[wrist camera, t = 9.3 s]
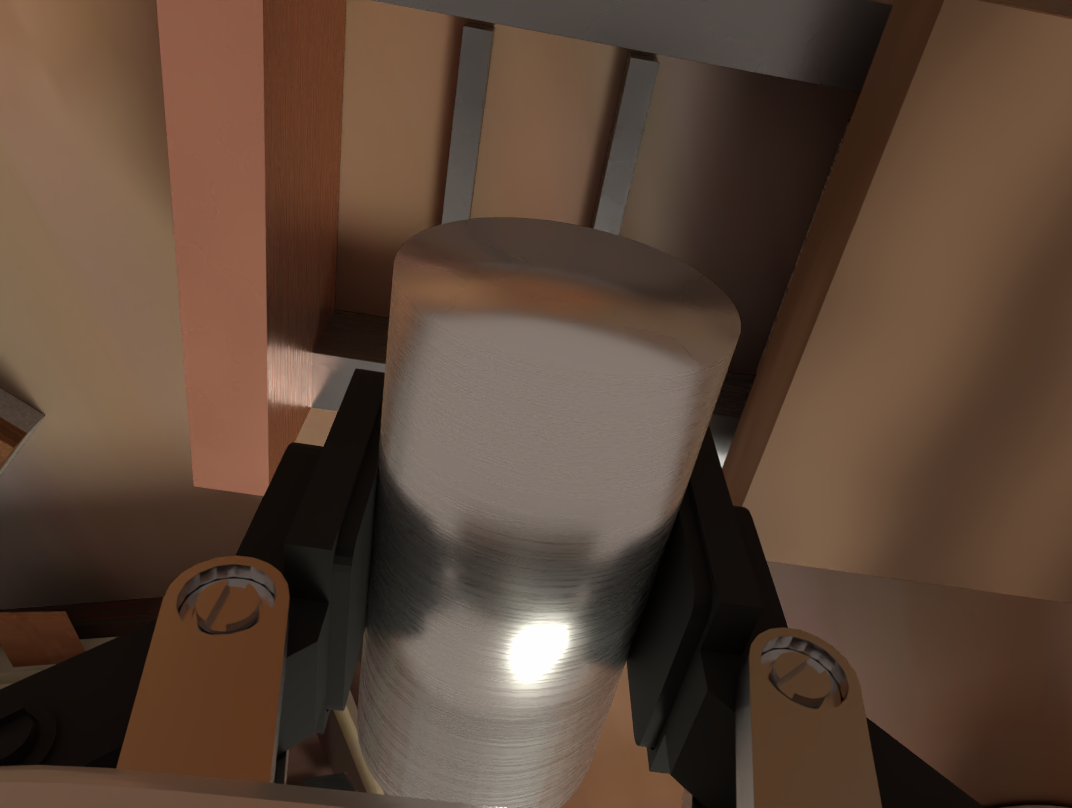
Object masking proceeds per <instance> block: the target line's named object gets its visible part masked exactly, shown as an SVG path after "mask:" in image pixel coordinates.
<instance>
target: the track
mask: <svg viewBox="0 0 1072 808" xmlns="http://www.w3.org/2000/svg"><path fill="white" fill-rule="evenodd" d="M373 1H379V2H384V3H389V4H395V5H400V6H405V7H411V8H416V9H421V10H427V11H432V12H437V13H442V14H448V15H453V16H458V17H464V18H469V19H474V20H480V21H485V22H490V23H496V24H501V25H506V26H512V27H517V28H522V29H527V30H533V31H538V32H543V33H549V34H554V35H559V36H565V37H570V38H575V39H581V40H586V41H591V42H596V43H602V44H607V45H612V46H618V47H623V48H628V49H634V50H639V51H644V52H650V53H655V54H660V55H665V56H671V57H676V58H681V59H687V60H692V61H697V62H703V63H708V64H713V65H719V66H724V67H729V68H735V69H740V70H745V71H750V72H756V73H761V74H766V75H772V76H777V77H782V78H788V79H793V80H798V81H804V82H809V83H814V84H819V85H825V86H830V87H835V88H841V89H846V90H851V91H857V92H861V91H862V88H863V85H864V83H865V80H866V77H867V74H868V72H869V69H870V66H871V64H872V61H873V58H874V55H875V53H876V50H877V47H878V45H879V42H880V39H881V37H882V34H883V31H884V28H885V26H886V23H887V20H888V18H889V15H890V12H891V9H892V7H893V4H894V0H373ZM156 2H157V15H158V28H159V41H160V54H161V67H162V80H163V93H164V106H165V119H166V132H167V145H168V158H169V171H170V184H171V197H172V210H173V223H174V236H175V249H176V262H177V275H178V288H179V301H180V314H181V327H182V340H183V353H184V366H185V379H186V392H187V405H188V418H189V431H190V444H191V457H192V470H193V483H194V486H195V487H202V488H209V489H216V490H224V491H231V492H238V493H245V494H252V495H259V496H264V495H265V492H266V490H267V488H268V486H269V484H270V482H271V480H272V478H273V475H274V473H275V471H276V469H277V467H278V465H279V463H280V461H281V459H282V456H283V454H284V452H285V450H286V448H287V447H288V445H289V444H290V443H292V442H295V440H296V438H297V436H298V434H299V432H300V430H301V427H302V425H303V423H304V421H305V419H306V417H307V415H308V412H309V410H310V408H311V407H314V408H320V409H327V410H334V411H338V410H339V408H340V405H341V403H342V400H343V398H344V395H345V393H346V390H347V388H348V385H349V383H350V380H351V378H352V376H353V373H354V371H355V369H357V368H358V369H365V370H371V371H378V372H384V373H385V366H386V354H387V341H388V329H389V318H384V317H377V316H371V315H365V314H358V313H352V312H346V311H339V310H335V288H336V261H337V235H338V209H339V182H340V156H341V130H342V103H343V77H344V51H345V24H346V0H156ZM494 30H495V27H489V26H484V25H479V24H473V23H468V22H466V23H465V25H464V26H463V35H462V44H461V53H460V62H459V71H458V80H457V90H456V99H455V108H454V117H453V126H452V135H451V144H450V153H449V162H448V171H447V180H446V189H445V198H444V207H443V216H442V224H445V223H449V222H454V221H459V220H466V219H470V215H471V207H472V199H473V191H474V184H475V176H476V168H477V161H478V153H479V145H480V138H481V130H482V122H483V114H484V107H485V99H486V91H487V84H488V76H489V68H490V61H491V53H492V45H493V37H494ZM658 67H659V61H658V60H657V58H654V57H649V56H644V55H638V54H633V53H628V58H627V62H626V67H625V72H624V76H623V81H622V85H621V90H620V95H619V99H618V104H617V109H616V113H615V118H614V123H613V127H612V132H611V137H610V141H609V146H608V150H607V155H606V160H605V164H604V169H603V174H602V178H601V183H600V188H599V192H598V197H597V202H596V206H595V211H594V215H593V220H592V225H591V228H593V229H597V230H601V231H605V232H609V233H612V234H615V235H619V232H620V228H621V224H622V220H623V215H624V211H625V207H626V203H627V199H628V194H629V190H630V186H631V182H632V177H633V173H634V169H635V165H636V160H637V156H638V152H639V148H640V143H641V139H642V135H643V131H644V127H645V122H646V118H647V114H648V110H649V105H650V101H651V97H652V93H653V88H654V84H655V80H656V76H657V72H658ZM850 120H851V119H849V120H848V123H847V125H846V128H845V131H844V133H843V136H842V139H841V142H840V144H839V147H838V150H837V152H836V155H835V158H834V161H833V163H832V166H831V169H830V171H829V174H828V177H827V180H826V182H825V185H824V188H823V191H822V193H821V196H820V199H819V201H818V204H817V207H816V210H815V212H814V215H813V218H812V220H811V223H810V226H809V229H808V231H807V234H806V237H805V239H804V242H803V245H802V248H801V250H800V253H799V256H798V258H797V261H796V264H795V267H794V269H793V272H792V275H791V277H790V280H789V283H788V286H787V288H786V291H785V294H784V296H783V299H782V302H781V305H780V307H779V310H778V313H777V315H776V318H775V321H774V324H773V326H772V329H771V332H770V334H769V337H768V340H767V343H766V345H765V348H764V351H763V353H762V356H761V359H760V362H759V364H758V367H757V372H758V369H759V367H760V364H761V361H762V358H763V356H764V353H765V350H766V348H767V345H768V342H769V340H770V337H771V334H772V331H773V329H774V326H775V323H776V321H777V318H778V315H779V312H780V310H781V307H782V304H783V302H784V299H785V296H786V294H787V291H788V288H789V285H790V283H791V280H792V277H793V275H794V272H795V269H796V267H797V264H798V261H799V258H800V256H801V253H802V250H803V248H804V245H805V242H806V239H807V237H808V234H809V231H810V229H811V226H812V223H813V221H814V218H815V215H816V212H817V210H818V207H819V204H820V202H821V199H822V196H823V193H824V191H825V188H826V185H827V183H828V180H829V177H830V175H831V172H832V169H833V166H834V164H835V161H836V158H837V156H838V153H839V150H840V147H841V145H842V142H843V139H844V137H845V134H846V131H847V129H848V126H849V123H850ZM755 377H756V376H750V375H744V374H738V373H731V372H727V373H726V376H725V379H724V382H723V385H722V387H721V390H720V393H719V396H718V399H717V402H716V405H715V408H714V410H713V413H712V416H711V419H710V422H709V426H710V430H711V433H712V437H713V440H714V443H715V447H716V450H717V453H718V457H719V460H720V463H721V467H723V464H724V461H725V459H726V456H727V453H728V450H729V448H730V445H731V442H732V440H733V437H734V434H735V432H736V429H737V426H738V423H739V421H740V418H741V415H742V413H743V410H744V407H745V404H746V402H747V399H748V396H749V394H750V391H751V388H752V386H753V383H754V380H755Z"/></svg>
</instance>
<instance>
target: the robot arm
mask: <svg viewBox="0 0 1072 808" xmlns="http://www.w3.org/2000/svg"><path fill="white" fill-rule="evenodd" d="M384 378H385V373H384V372H378V371H371V370H365V369H358V368H357V369H355V371H354V373H353V376H352V378H351V380H350V383H349V385H348V388H347V390H346V393H345V395H344V398H343V400H342V403H341V405H340V408H339V410H338V412H337V415H336V417H335V420H334V422H333V425H332V427H331V430H330V432H329V435H328V437H327V440H326V442H325V444H324V447H322V446H315V445H308V444H301V443H294V442H292V443H290V444H289V445H288V447H287V448H286V450H285V452H284V454H283V456H282V459H281V461H280V463H279V465H278V467H277V469H276V471H275V473H274V475H273V478H272V480H271V482H270V484H269V486H268V488H267V490H266V492H265V495H264V497H263V499H262V501H261V503H260V505H259V507H258V509H257V511H256V514H255V516H254V518H253V520H252V522H251V524H250V526H249V528H248V531H247V533H246V535H245V537H244V539H243V541H242V543H241V545H240V548H239V550H238V552H237V554H236V556H226V557H216V558H213V559H210V560H207V561H204V562H201V563H198V564H196V565H194V566H193V567H191V568H189V569H187V570H186V571H184V572H182V573H181V574H180V575H179V576H178V577H177V578H176V579H175V580H174V581H173V582H172V583H171V584H170V586H169V588H168V590H167V592H166V594H165V596H164V598H163V600H162V604H161V608H160V611H159V615H158V619H157V620H155V621H153V622H150V623H148V624H146V625H144V626H141V627H139V628H137V629H135V630H132V631H130V632H128V633H126V634H123V635H121V636H119V637H117V638H114V639H112V640H110V641H108V642H105V643H103V644H101V645H99V646H96V647H94V648H92V649H90V650H87V651H85V652H83V653H81V654H78V655H76V656H74V657H72V658H69V659H67V660H65V661H63V662H60V663H58V664H56V665H54V666H51V667H49V668H47V669H45V670H42V671H40V672H38V673H36V674H33V675H31V676H29V677H27V678H24V679H22V680H20V681H18V682H15V683H13V684H11V685H9V686H6V687H4V688H2V689H0V808H503V807H493V806H484V805H475V804H466V803H457V802H448V801H439V800H429V799H420V798H410V797H401V796H391V795H382V794H372V793H363V792H353V791H344V790H334V789H324V788H315V787H305V786H296V785H286V780H287V768H288V757H289V749H290V748H292V747H293V746H295V745H297V744H298V743H300V742H302V741H303V740H305V739H306V738H308V737H310V736H311V735H313V734H314V733H322V734H324V731H325V727H326V723H327V720H328V716H329V712H330V710H338V711H344V709H345V706H346V703H347V699H348V695H349V691H350V687H351V683H352V679H353V675H354V671H355V667H356V663H357V659H358V655H359V651H360V647H361V643H362V639H363V635H364V631H365V627H366V615H367V603H368V590H369V578H370V566H371V553H372V541H373V529H374V516H375V504H376V492H377V479H378V467H379V464H378V456H379V440H380V427H381V415H382V403H383V390H384ZM627 669H628V679H629V689H630V699H631V709H632V719H633V729H634V738H635V742H636V744H637V745H638V746H644V747H647V753H648V762H649V771H651V772H660V773H669V774H670V775H671V776H672V777H673V778H674V779H676V780H677V781H678V782H679V783H680V784H681V785H682V786H683V787H684V788H685V789H684V793H683V797H682V808H984V807H983V806H981V805H980V804H979V803H978V802H976V801H975V800H974V799H972V798H971V797H970V796H968V795H967V794H966V793H965V792H963V791H962V790H961V789H959V788H958V787H957V786H955V785H954V784H953V783H951V782H950V781H949V780H948V779H946V778H945V777H944V776H942V775H941V774H940V773H938V772H937V771H936V770H935V769H933V768H932V767H931V766H929V765H928V764H927V763H925V762H924V761H923V760H922V759H920V758H919V757H918V756H916V755H915V754H914V753H912V752H911V751H910V750H908V749H907V748H906V747H905V746H903V745H902V744H901V743H899V742H898V741H897V740H895V739H894V738H893V737H892V736H890V735H889V734H888V733H886V732H885V731H884V730H882V729H881V728H880V727H879V726H877V725H876V724H875V723H873V722H872V721H871V720H869V719H868V718H867V717H866V714H865V709H864V703H863V698H862V692H861V687H860V684H859V681H858V678H857V676H856V673H855V671H854V670H853V668H852V667H851V665H850V664H849V663H848V661H847V660H846V658H845V657H844V656H842V655H841V654H840V653H839V652H838V651H837V650H836V649H835V648H834V647H833V646H831V645H830V644H828V643H827V642H825V641H823V640H822V639H820V638H819V637H817V636H815V635H812V634H809V633H807V632H804V631H802V630H798V629H791V628H788V626H787V623H786V620H785V617H784V614H783V611H782V608H781V605H780V602H779V598H778V595H777V592H776V589H775V586H774V583H773V580H772V577H771V574H770V571H769V568H768V564H767V561H766V558H765V555H764V552H763V549H762V546H761V543H760V540H759V537H758V533H757V530H756V527H755V524H754V521H753V518H752V516H751V514H750V511H749V510H748V509H747V508H745V507H740V506H733V504H732V500H731V497H730V494H729V490H728V487H727V484H726V480H725V477H724V473H723V470H722V467H721V463H720V460H719V457H718V453H717V450H716V447H715V443H714V440H713V437H712V433H711V430H710V426H709V425H708V428H707V430H706V433H705V436H704V439H703V442H702V445H701V448H700V451H699V453H698V456H697V459H696V462H695V465H694V468H693V471H692V474H691V476H690V479H689V482H688V485H687V488H686V491H685V494H684V496H683V499H682V502H681V505H680V508H679V511H678V514H677V517H676V519H675V522H674V525H673V528H672V531H671V534H670V537H669V539H668V542H667V545H666V548H665V551H664V554H663V557H662V560H661V562H660V565H659V568H658V571H657V574H656V577H655V580H654V582H653V585H652V588H651V591H650V594H649V597H648V600H647V603H646V605H645V608H644V611H643V614H642V617H641V620H640V623H639V626H638V628H637V631H636V634H635V637H634V640H633V643H632V646H631V648H630V651H629V654H628V657H627ZM1001 808H1070V807H1062V806H1053V805H1020V806H1010V807H1001Z"/></svg>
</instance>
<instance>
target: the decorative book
mask: <svg viewBox="0 0 1072 808" xmlns="http://www.w3.org/2000/svg"><path fill="white" fill-rule="evenodd" d="M163 598H164V597H159V598H146V599H133V600H121V601H108V602H96V603H83V604H71V605H58V606H46V607H33V608H21V609H8V610H0V689H2V688H4V687H6V686H9V685H11V684H13V683H15V682H18V681H20V680H22V679H24V678H27V677H29V676H31V675H33V674H36V673H38V672H40V671H42V670H45V669H47V668H49V667H51V666H54V665H56V664H58V663H60V662H63V661H65V660H67V659H69V658H72V657H74V656H76V655H78V654H81V653H83V652H85V651H87V650H90V649H92V648H94V647H96V646H99V645H101V644H103V643H105V642H108V641H110V640H112V639H114V638H117V637H119V636H121V635H123V634H126V633H128V632H130V631H132V630H135V629H137V628H139V627H141V626H144V625H146V624H148V623H150V622H153V621H155V620H157V619H158V615H159V611H160V608H161V604H162V600H163ZM363 636H364V635H363ZM362 649H363V639H362V643H361V647H360V651H359V655H358V659H357V663H356V667H355V671H354V675H353V679H352V683H351V687H350V691H349V695H348V699H347V703H346V706H345V709H344V711H338V710H330V712H329V716H328V720H327V723H326V727H325V731H324V734H322V733H314V734H313V735H311V736H310V737H308V738H306V739H305V740H303V741H302V742H300V743H298V744H297V745H295V746H293V747H292V748H290V749H289V757H288V768H287V780H286V785H296V786H305V787H315V788H324V789H334V790H344V791H353V792H363V793H372V794H382V795H387V794H386V793H385V792H384V790H383V789H382V788H381V787H380V786H379V784H378V783H377V782H376V780H375V779H374V777H373V775H372V774H371V772H370V771H369V769H368V767H367V765H366V762H365V760H364V758H363V755H362V752H361V748H360V745H359V741H358V732H357V710H358V698H359V686H360V673H361V661H362Z"/></svg>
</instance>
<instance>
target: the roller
mask: <svg viewBox="0 0 1072 808" xmlns="http://www.w3.org/2000/svg"><path fill="white" fill-rule="evenodd" d="M740 333H741V321H740V317H739V313H738V312H737V310H736V308H735V306H734V304H733V302H732V301H731V300H730V299H729V297H728V296H727V295H726V294H725V293H724V292H723V291H722V290H721V289H720V288H719V287H718V286H717V285H716V284H715V283H714V282H712V281H711V280H710V279H709V278H707V277H706V276H705V275H703V274H702V273H700V272H699V271H697V270H696V269H694V268H693V267H691V266H689V265H687V264H686V263H684V262H682V261H680V260H678V259H677V258H675V257H672V256H670V255H668V254H666V253H664V252H662V251H660V250H657V249H655V248H652V247H650V246H648V245H645V244H642V243H640V242H637V241H634V240H631V239H628V238H625V237H622V236H619V235H615V234H612V233H609V232H605V231H601V230H597V229H593V228H589V227H584V226H579V225H574V224H569V223H562V222H556V221H549V220H540V219H529V218H510V217H493V218H475V219H466V220H459V221H454V222H449V223H445V224H441V225H437V226H434V227H431V228H429V229H426V230H424V231H421V232H420V233H418V234H416V235H414V236H413V237H411V238H410V239H409V240H407V241H406V242H405V243H404V244H403V245H402V246H401V248H400V249H399V251H398V252H397V254H396V257H395V260H394V268H393V280H392V292H391V304H390V317H389V329H388V341H387V354H386V366H385V378H384V390H383V403H382V415H381V427H380V440H379V456H378V464H379V467H378V479H377V492H376V504H375V516H374V529H373V541H372V553H371V566H370V578H369V590H368V603H367V615H366V627H365V631H364V636H363V649H362V661H361V673H360V686H359V698H358V710H357V732H358V741H359V745H360V748H361V752H362V755H363V758H364V760H365V762H366V765H367V767H368V769H369V771H370V772H371V774H372V775H373V777H374V779H375V780H376V782H377V783H378V784H379V786H380V787H381V788H382V789H383V790H384V792H385V793H386V794H387V795H391V796H401V797H410V798H420V799H429V800H439V801H448V802H457V803H466V804H475V805H484V806H493V807H503V808H560V807H562V806H563V805H564V804H565V803H566V802H567V801H568V800H569V799H570V798H571V797H572V795H573V794H574V793H575V791H576V790H577V789H578V788H579V786H580V785H581V783H582V781H583V779H584V777H585V776H586V774H587V771H588V768H589V766H590V763H591V760H592V757H593V755H594V752H595V749H596V746H597V743H598V740H599V737H600V735H601V732H602V729H603V726H604V723H605V720H606V717H607V714H608V712H609V709H610V706H611V703H612V700H613V697H614V694H615V691H616V689H617V686H618V683H619V680H620V677H621V674H622V671H623V669H624V666H625V663H626V660H627V657H628V654H629V651H630V648H631V646H632V643H633V640H634V637H635V634H636V631H637V628H638V626H639V623H640V620H641V617H642V614H643V611H644V608H645V605H646V603H647V600H648V597H649V594H650V591H651V588H652V585H653V582H654V580H655V577H656V574H657V571H658V568H659V565H660V562H661V560H662V557H663V554H664V551H665V548H666V545H667V542H668V539H669V537H670V534H671V531H672V528H673V525H674V522H675V519H676V517H677V514H678V511H679V508H680V505H681V502H682V499H683V496H684V494H685V491H686V488H687V485H688V482H689V479H690V476H691V474H692V471H693V468H694V465H695V462H696V459H697V456H698V453H699V451H700V448H701V445H702V442H703V439H704V436H705V433H706V430H707V428H708V425H709V422H710V419H711V416H712V413H713V410H714V408H715V405H716V402H717V399H718V396H719V393H720V390H721V387H722V385H723V382H724V379H725V376H726V373H727V370H728V367H729V365H730V362H731V359H732V356H733V353H734V350H735V347H736V344H737V342H738V339H739V336H740Z"/></svg>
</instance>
